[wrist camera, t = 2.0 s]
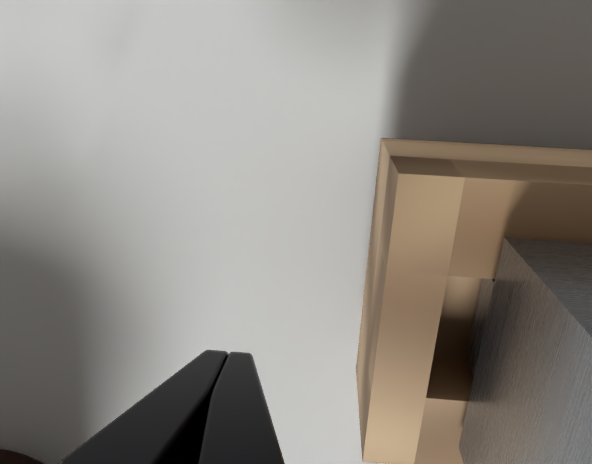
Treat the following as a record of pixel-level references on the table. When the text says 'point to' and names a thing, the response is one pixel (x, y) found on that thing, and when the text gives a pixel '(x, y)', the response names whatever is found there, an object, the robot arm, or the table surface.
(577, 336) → the grey block
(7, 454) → the coffee mug
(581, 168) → the light wood rectangular frame
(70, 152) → the table surface
